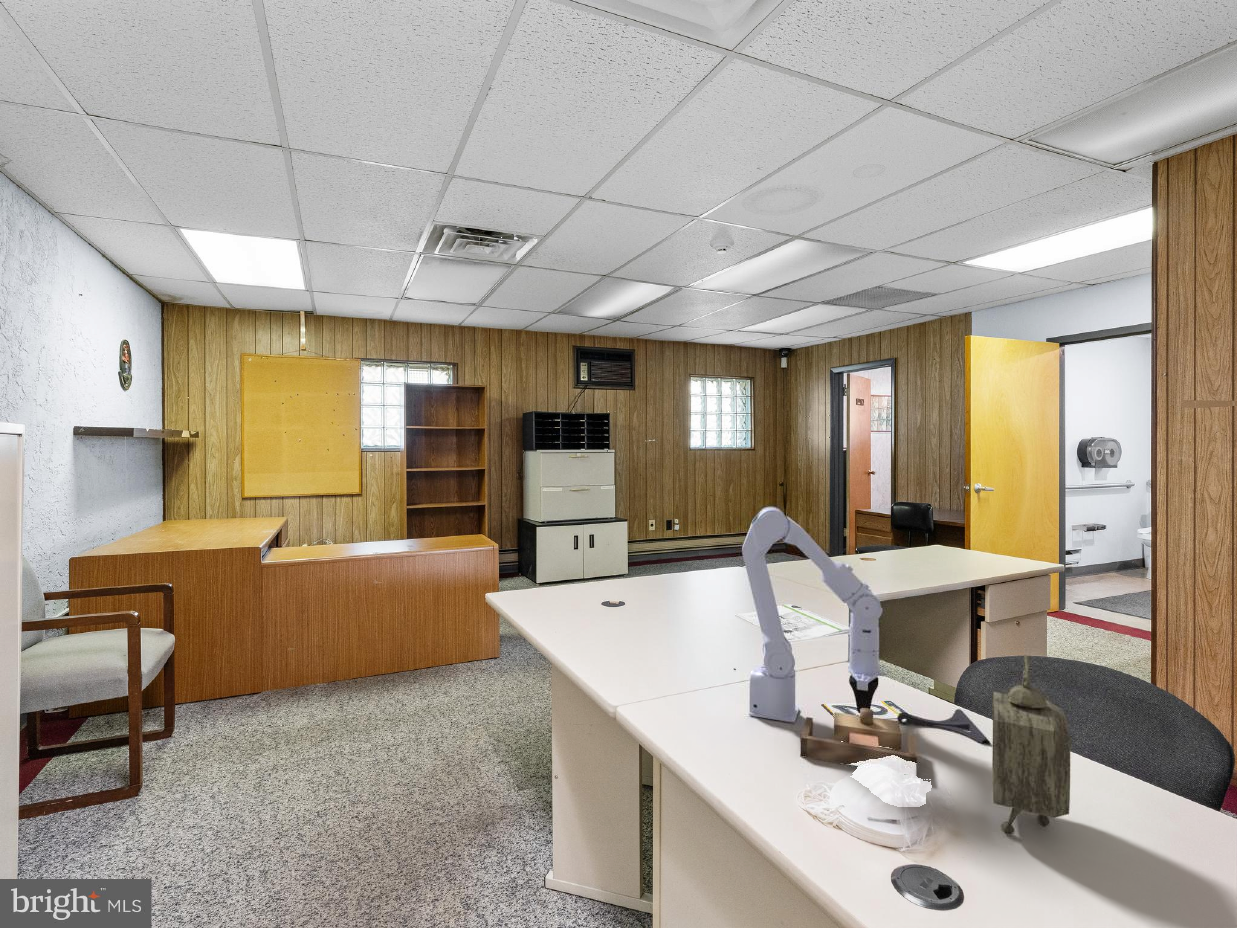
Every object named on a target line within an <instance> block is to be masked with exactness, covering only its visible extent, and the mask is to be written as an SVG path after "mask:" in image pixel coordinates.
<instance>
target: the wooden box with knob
mask: <svg viewBox="0 0 1237 928" xmlns="http://www.w3.org/2000/svg"><path fill="white" fill-rule="evenodd" d="M850 732H855V733H862V734H869V735H876V736H878V745H879V746H882V747H889V748H892V749H891V750H893V749H895V750H894V751H900V750H901V751H902V729H901V724H899V721H898V720H892V719H886V718H879V717H874V710H873V709H872V708H870V709H868V708H861V709H860V713H859V715H856V714H851V713H850V714H849V713H841V712H834V715H833V740H835V741H843V742H847V743H849V741H850Z"/></svg>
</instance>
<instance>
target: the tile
mask: <svg viewBox="0 0 1237 928" xmlns="http://www.w3.org/2000/svg"><path fill="white" fill-rule="evenodd" d="M849 743H853V744H858V745H864V746H870V747H876V748H880V747H879V745H878V736H876V735H869V734H862V733H855V732H850V741H849Z"/></svg>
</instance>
